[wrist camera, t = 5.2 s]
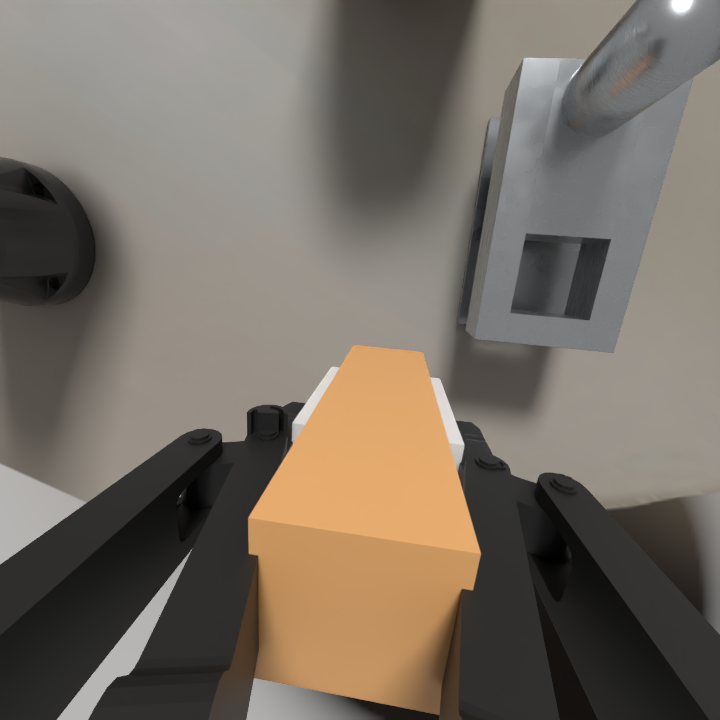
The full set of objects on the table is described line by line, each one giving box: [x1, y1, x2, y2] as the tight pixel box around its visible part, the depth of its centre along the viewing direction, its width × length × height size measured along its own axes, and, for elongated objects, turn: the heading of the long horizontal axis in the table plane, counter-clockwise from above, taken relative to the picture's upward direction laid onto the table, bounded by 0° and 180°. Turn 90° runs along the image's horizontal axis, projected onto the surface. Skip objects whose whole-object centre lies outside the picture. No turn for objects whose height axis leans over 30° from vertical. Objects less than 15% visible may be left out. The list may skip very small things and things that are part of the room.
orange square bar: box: [248, 345, 481, 715], centre depth 13 cm, size 4×4×14 cm
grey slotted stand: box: [457, 0, 720, 353], centre depth 23 cm, size 10×18×16 cm, turn 175°
